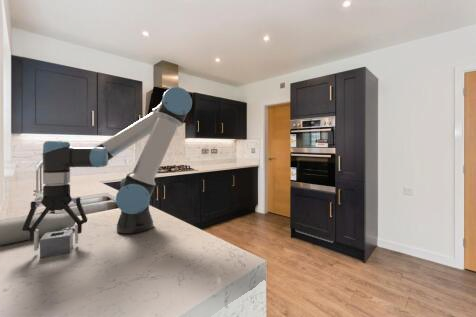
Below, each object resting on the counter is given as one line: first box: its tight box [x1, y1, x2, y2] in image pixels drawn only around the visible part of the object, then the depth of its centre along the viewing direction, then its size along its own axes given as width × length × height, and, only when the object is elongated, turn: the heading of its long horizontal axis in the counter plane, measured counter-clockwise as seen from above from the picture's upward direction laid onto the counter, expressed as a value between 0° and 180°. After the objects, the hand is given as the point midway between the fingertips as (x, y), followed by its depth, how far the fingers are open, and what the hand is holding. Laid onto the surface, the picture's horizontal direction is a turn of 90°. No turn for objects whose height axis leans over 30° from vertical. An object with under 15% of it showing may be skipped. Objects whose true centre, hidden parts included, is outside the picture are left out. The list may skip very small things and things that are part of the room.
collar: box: [39, 228, 74, 258], centre depth 79 cm, size 8×8×6 cm
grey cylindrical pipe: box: [0, 211, 76, 246], centre depth 94 cm, size 10×10×28 cm
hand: (57, 245), depth 80 cm, fingers open, 10 cm apart
